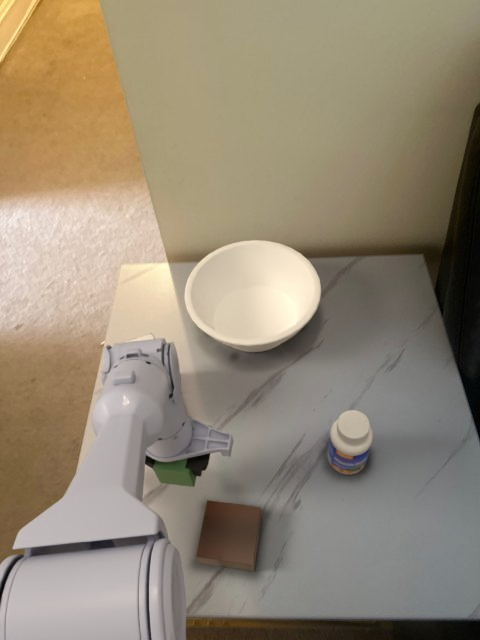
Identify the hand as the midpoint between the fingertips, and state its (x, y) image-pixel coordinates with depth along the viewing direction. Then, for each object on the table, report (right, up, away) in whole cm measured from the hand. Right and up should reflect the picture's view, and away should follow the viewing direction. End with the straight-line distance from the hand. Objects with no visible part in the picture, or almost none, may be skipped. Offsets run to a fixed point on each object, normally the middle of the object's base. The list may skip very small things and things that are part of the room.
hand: (180, 466), depth 71 cm
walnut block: (+6, -9, +1) cm, 11 cm away
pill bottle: (+22, 0, +6) cm, 23 cm away
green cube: (0, 0, +1) cm, 1 cm away
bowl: (+10, +18, +22) cm, 30 cm away
